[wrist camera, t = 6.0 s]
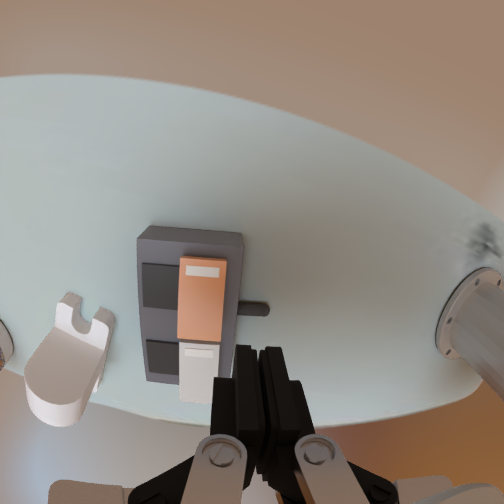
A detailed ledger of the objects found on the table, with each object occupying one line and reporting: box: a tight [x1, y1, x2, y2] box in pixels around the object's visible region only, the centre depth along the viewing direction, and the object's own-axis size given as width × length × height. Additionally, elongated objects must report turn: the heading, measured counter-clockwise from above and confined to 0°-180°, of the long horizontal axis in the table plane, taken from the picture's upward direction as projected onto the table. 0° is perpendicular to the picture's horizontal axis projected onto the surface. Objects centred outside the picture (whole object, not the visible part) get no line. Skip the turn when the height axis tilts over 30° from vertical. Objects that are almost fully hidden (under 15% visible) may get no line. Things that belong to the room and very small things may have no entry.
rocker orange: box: [177, 256, 227, 342], centre depth 18 cm, size 3×5×1 cm, turn 173°
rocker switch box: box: [137, 226, 270, 385], centre depth 22 cm, size 10×12×4 cm
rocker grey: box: [179, 339, 220, 404], centre depth 20 cm, size 3×5×1 cm, turn 173°
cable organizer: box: [24, 293, 115, 427], centre depth 19 cm, size 5×10×10 cm, turn 154°
